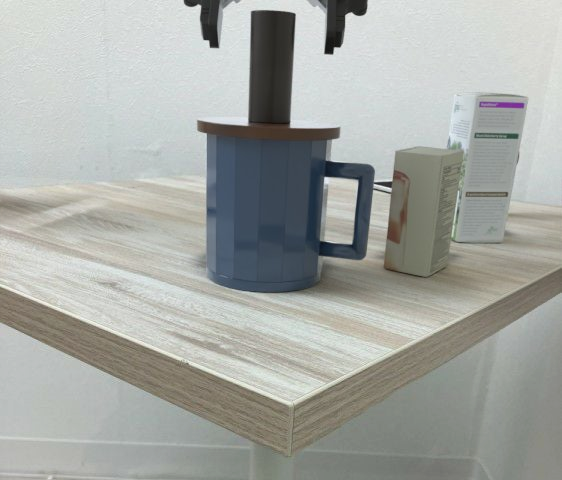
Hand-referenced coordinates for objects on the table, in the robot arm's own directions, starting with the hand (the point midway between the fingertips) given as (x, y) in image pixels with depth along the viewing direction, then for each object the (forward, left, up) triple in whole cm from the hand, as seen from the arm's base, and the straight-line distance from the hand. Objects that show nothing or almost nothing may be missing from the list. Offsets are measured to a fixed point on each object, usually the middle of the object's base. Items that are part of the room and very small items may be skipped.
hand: (271, 42), depth 47 cm
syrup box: (+16, +23, -17) cm, 33 cm away
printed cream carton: (+12, +7, -17) cm, 22 cm away
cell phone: (+7, +51, -17) cm, 54 cm away
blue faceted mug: (+2, -1, -17) cm, 17 cm away
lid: (0, -1, -6) cm, 6 cm away
